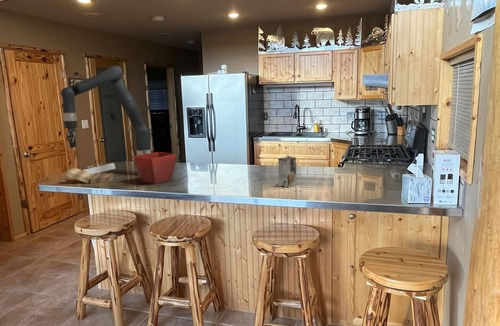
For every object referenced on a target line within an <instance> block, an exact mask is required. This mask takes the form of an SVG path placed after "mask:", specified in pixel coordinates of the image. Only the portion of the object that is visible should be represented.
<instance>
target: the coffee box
mask: <svg viewBox="0 0 500 326" xmlns="http://www.w3.org/2000/svg"><path fill="white" fill-rule="evenodd" d="M296 159H297V158H296V156H295V157H294V156H283V157H280V158H278V162H277V163H278V187H280V186H284V187H283V188H286V187H288V188H290V187H289V186H291V187H293V186H292V185H294V186H296V185H297V162H296V161H297V160H296ZM295 184H296V185H295Z"/></svg>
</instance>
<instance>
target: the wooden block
mask: <svg viewBox="0 0 500 326" xmlns="http://www.w3.org/2000/svg"><path fill="white" fill-rule="evenodd" d="M113 179H114V173H102V174H101V173H96V174H95V175H94V176H93V177H92V178H90V182H89V183H90V184H105V183H110V182H112V180H113Z"/></svg>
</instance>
